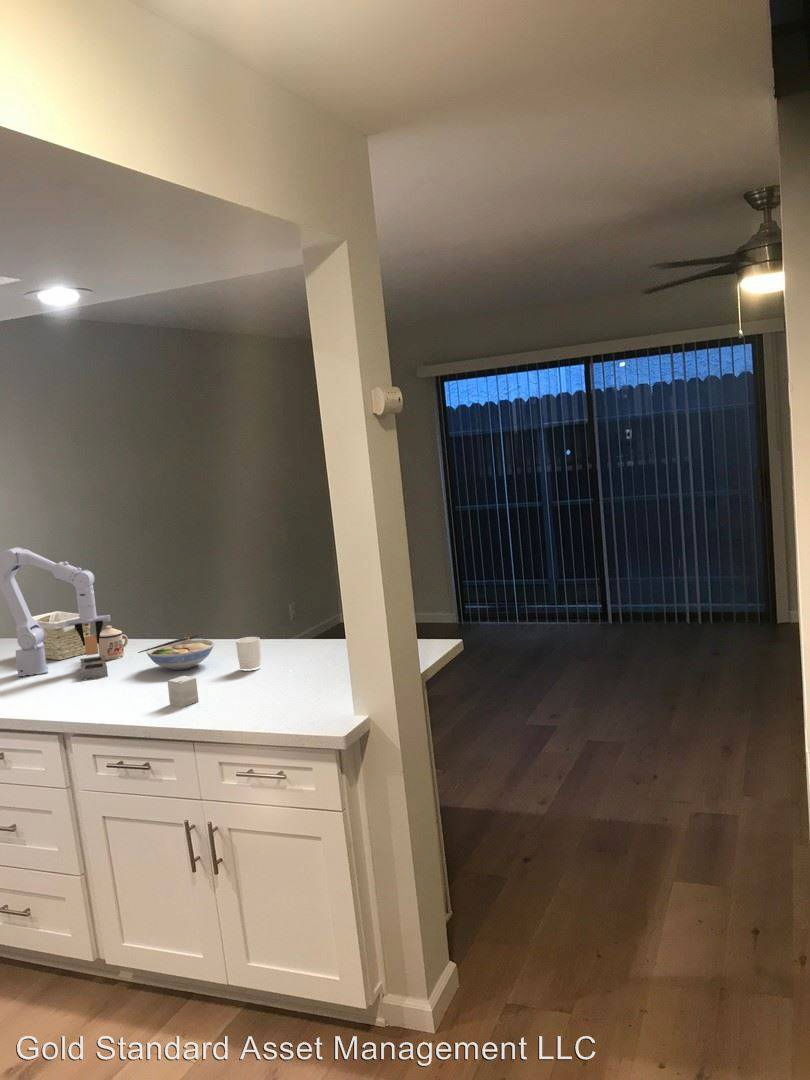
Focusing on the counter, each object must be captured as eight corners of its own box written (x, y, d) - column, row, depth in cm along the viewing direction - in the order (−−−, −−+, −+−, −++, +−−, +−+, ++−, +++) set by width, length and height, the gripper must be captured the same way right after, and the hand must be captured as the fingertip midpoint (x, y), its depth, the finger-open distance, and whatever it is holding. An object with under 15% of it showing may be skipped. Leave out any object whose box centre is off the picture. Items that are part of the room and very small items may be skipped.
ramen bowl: (174, 680, 291) (171, 655, 290) (130, 673, 305) (128, 649, 304) (232, 661, 311) (230, 638, 310) (189, 655, 325) (187, 633, 324)
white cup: (265, 665, 303) (262, 636, 301) (259, 671, 295) (256, 641, 294) (242, 666, 303) (239, 637, 302) (235, 672, 296) (232, 642, 294)
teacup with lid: (109, 661, 325) (105, 629, 324) (93, 659, 331) (90, 627, 329) (136, 653, 335) (133, 622, 334) (121, 651, 340) (117, 621, 339)
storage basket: (23, 656, 345) (18, 618, 343) (62, 646, 357) (57, 610, 356) (56, 662, 330) (51, 623, 328) (96, 652, 342) (91, 614, 341)
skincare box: (186, 699, 269) (183, 675, 268) (199, 701, 265) (196, 677, 264) (169, 704, 264) (166, 680, 263) (182, 707, 260) (179, 682, 259)
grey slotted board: (107, 676, 303) (106, 667, 303) (82, 680, 301) (81, 671, 300) (105, 663, 322) (104, 655, 322) (81, 667, 319) (80, 658, 319)
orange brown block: (86, 655, 313) (84, 638, 312) (86, 653, 316) (84, 636, 316) (98, 653, 314) (96, 636, 313) (98, 651, 318) (96, 634, 317)
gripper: (64, 610, 307) (69, 649, 309) (109, 604, 312) (113, 643, 314) (64, 607, 314) (68, 645, 315) (108, 601, 319) (112, 639, 320)
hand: (91, 644), depth 315 cm, fingers closed on orange brown block, 4 cm apart
